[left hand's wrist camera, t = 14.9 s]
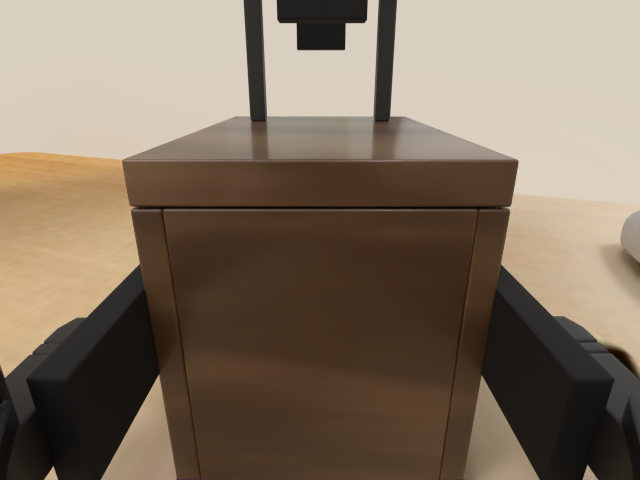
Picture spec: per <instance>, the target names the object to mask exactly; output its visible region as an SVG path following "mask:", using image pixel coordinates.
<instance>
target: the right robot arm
mask: <svg viewBox="0 0 640 480" xmlns="http://www.w3.org/2000/svg"><path fill="white" fill-rule="evenodd" d="M367 2H368V0H277V19H278V21H279V23H297V50H345V25H346V23H365V21H366V20H367Z"/></svg>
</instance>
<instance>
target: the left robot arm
mask: <svg viewBox="0 0 640 480" xmlns="http://www.w3.org/2000/svg"><path fill="white" fill-rule="evenodd" d="M158 375H159V370H158V365H157V359H156V353H155V347H154V342H153V336H152V330H151V324H150V318H149V313H148V307H147V301H146V295H145V290H144V284H143V278H142V272H141V266H140V265H139V266H138V267H137V268H136V269H135V270H134V271H133V272H132V273H131V274H130V275H129V276H128V277H127V278H126V279H125V280H124V281H123V282H122V283H121V284H120V285H119V286H118V287H117V288H116V289H115V290H114V291H113V292H112V293H111V294H110V295H109V296H108V297H107V298H106V299H105V300H104V301H103V302H102V303H101V304H100V305H99V306H98V307H97V308H96V309H95V310H94V311H93V312H92V313H91V314H90V315H89V316H88V317H87V318H76V319H74V320H72V321H70V322H69V323H67V324H65V325H63V326H62V327H60V328H58V329H57V330H56V331H55V332H54V333H53V334H52V335H50V336H49V337H48V338H47V339H46V340H45V341H44V344H41V345H40V346H39V347H38V348H37V349H36V350H34V351H33V354H32V355H29V356H28V357H27V358H26V359H25V360H24V361H23V362H22V363H21V364H20V365H18V366H17V367H16V368H15V369H14V370H13V371H12V372H11V373H10V374H9V375H8V376H7V377H6V378H4V375H3V372H2V369H1V366H0V480H44V479H45V477H46V476H47V474H48V473H49V472H50V470H51V469H52V467H53V466H54V468H55V472H56V475H57V478H58V480H101V478H102V476H103V474H104V473H105V471H106V469H107V467H108V465H109V464H110V462H111V460H112V458H113V456H114V455H115V453H116V451H117V449H118V447H119V446H120V444H121V442H122V440H123V438H124V436H125V435H126V433H127V431H128V429H129V427H130V426H131V424H132V422H133V420H134V418H135V417H136V415H137V413H138V411H139V409H140V408H141V406H142V404H143V402H144V400H145V398H146V397H147V395H148V393H149V391H150V389H151V388H152V386H153V384H154V382H155V380H156V379H157V377H158ZM482 376H483V378H484V380H485V381H486V383H487V385H488V387H489V389H490V390H491V392H492V394H493V396H494V398H495V399H496V401H497V403H498V405H499V407H500V408H501V410H502V412H503V414H504V416H505V418H506V419H507V421H508V423H509V425H510V427H511V428H512V430H513V432H514V434H515V436H516V437H517V439H518V441H519V443H520V445H521V446H522V448H523V450H524V452H525V454H526V456H527V457H528V459H529V461H530V463H531V465H532V466H533V468H534V470H535V472H536V474H537V475H538V477H539V479H540V480H583V476H584V473H585V470H586V467H587V464H588V466H589V467H590V469H591V470H592V472H593V473H594V474H595V476H596V477H597V479H598V480H640V380H639V379H638V378H637V377H636V376H635V375H634V374H633V373H632V372H631V371H630V370H629V369H627V368H626V367H625V366H624V365H623V364H622V363H621V362H620V361H619V360H618V359H617V358H616V357H615V356H613V355H612V354H609V353H608V350H607V349H606V348H605V347H604V346H603V345H602V344H601V343H597V340H596V339H595V338H594V337H593V336H592V335H591V334H590V333H589V332H588V331H587V330H586V329H584V328H583V327H582V326H580V325H578V324H576V323H575V322H573V321H571V320H569V319H567V318H566V317H564V316H552V315H551V314H550V313H549V312H548V311H547V310H546V309H545V308H544V307H543V306H542V305H541V304H540V303H539V302H538V301H537V300H536V299H535V298H534V297H533V296H532V295H531V294H530V293H529V292H528V291H527V290H526V289H525V288H524V287H523V286H522V285H521V284H520V283H519V282H518V281H517V280H516V279H515V278H514V277H513V276H512V275H511V274H510V273H509V272H508V271H507V270H506V269H505V268H504V267H503V266H502V265H501V266H500V272H499V278H498V283H497V289H496V294H495V299H494V305H493V311H492V317H491V322H490V328H489V334H488V339H487V345H486V351H485V357H484V362H483V368H482Z"/></svg>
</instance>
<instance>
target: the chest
mask: <svg viewBox="0 0 640 480" xmlns="http://www.w3.org/2000/svg"><path fill="white" fill-rule="evenodd" d="M131 214H132V220H133V226H134V232H135V237H136V243H137V249H138V255H139V261H140V266H141V272H142V278H143V284H144V290H145V295H146V301H147V307H148V313H149V318H150V324H151V330H152V336H153V342H154V347H155V353H156V359H157V365H158V370H159V376H160V382H161V388H162V394H163V399H164V405H165V411H166V417H167V422H168V428H169V434H170V440H171V446H172V451H173V457H174V463H175V469H176V475H177V480H464V479H463V477H464V472H465V466H466V460H467V454H468V449H469V443H470V437H471V432H472V426H473V420H474V414H475V409H476V403H477V397H478V392H479V386H480V380H481V375H482V368H483V362H484V357H485V351H486V345H487V339H488V334H489V328H490V322H491V317H492V311H493V305H494V299H495V294H496V289H497V283H498V278H499V272H500V266H501V260H502V255H503V249H504V243H505V238H506V232H507V226H508V221H509V215H510V210H509V209H508V208H506V207H135V208H133V209H132V210H131Z"/></svg>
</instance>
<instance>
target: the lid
mask: <svg viewBox="0 0 640 480" xmlns="http://www.w3.org/2000/svg"><path fill="white" fill-rule="evenodd" d="M396 8H397V0H379V9H378V30H377V52H376V74H375V96H374V117H267V107H266V84H265V61H264V39H263V16H262V0H244V14H245V31H246V48H247V66H248V83H249V100H250V117H233V118H231V119H228V120H225V121H223V122H220V123H218V124H215V125H212V126H210V127H207V128H205V129H202V130H200V131H197V132H194V133H192V134H189V135H186V136H184V137H181V138H179V139H176V140H173V141H171V142H168V143H165V144H163V145H160V146H158V147H155V148H152V149H150V150H147V151H145V152H142V153H139V154H137V155H134V156H132V157H129V158H126V159H124V160H123V161H122V164H123V169H124V175H125V181H126V187H127V193H128V198H129V204H130V206H133V207H509V206H511V203H512V197H513V192H514V186H515V180H516V174H517V169H518V160H516V159H514V158H511V157H509V156H506V155H503V154H501V153H498V152H496V151H493V150H490V149H488V148H485V147H483V146H480V145H477V144H475V143H472V142H469V141H467V140H464V139H462V138H459V137H456V136H454V135H451V134H449V133H446V132H443V131H441V130H438V129H435V128H433V127H430V126H428V125H425V124H422V123H420V122H417V121H415V120H412V119H409V118H407V117H390V108H391V92H392V75H393V58H394V41H395V24H396Z"/></svg>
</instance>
